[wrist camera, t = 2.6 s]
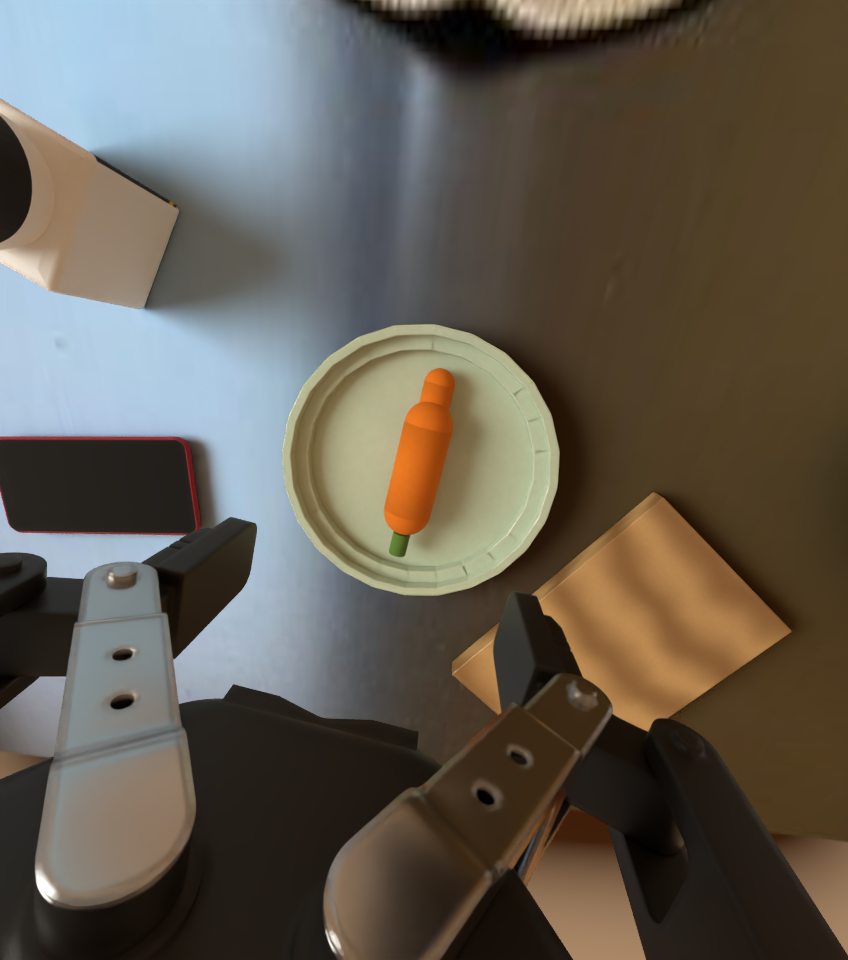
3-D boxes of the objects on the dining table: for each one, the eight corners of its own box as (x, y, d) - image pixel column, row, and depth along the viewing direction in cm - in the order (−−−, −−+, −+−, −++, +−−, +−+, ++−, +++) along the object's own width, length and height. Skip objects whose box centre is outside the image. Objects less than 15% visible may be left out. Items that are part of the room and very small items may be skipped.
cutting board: (653, 491, 30) (663, 497, 29) (777, 619, 32) (792, 631, 30) (451, 661, 34) (451, 674, 33) (570, 766, 36) (575, 783, 35)
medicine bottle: (183, 209, 27) (-14, 89, 16) (145, 312, 29) (-58, 272, 18) (80, 147, 27) (-200, -22, 15) (48, 256, 29) (-226, 177, 17)
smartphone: (199, 535, 32) (9, 532, 33) (206, 531, 33) (21, 528, 34) (185, 437, 30) (-15, 437, 31) (193, 435, 31) (-3, 435, 32)
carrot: (420, 362, 28) (415, 361, 25) (467, 374, 28) (467, 374, 25) (379, 539, 32) (369, 556, 28) (421, 550, 31) (416, 569, 28)
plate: (416, 266, 27) (412, 256, 25) (606, 461, 30) (619, 469, 27) (245, 464, 31) (229, 471, 29) (424, 623, 34) (422, 642, 31)
